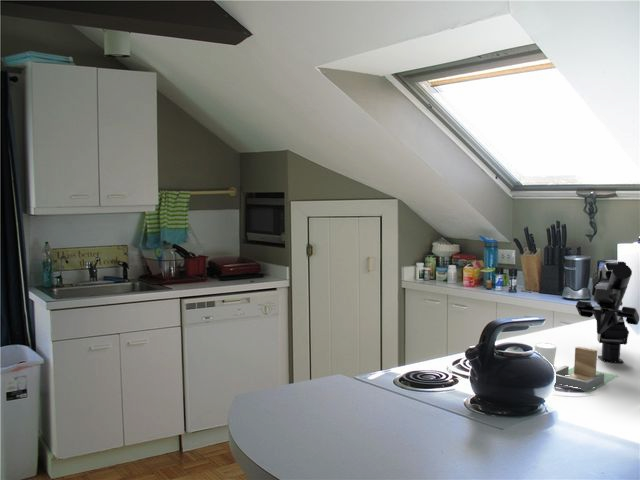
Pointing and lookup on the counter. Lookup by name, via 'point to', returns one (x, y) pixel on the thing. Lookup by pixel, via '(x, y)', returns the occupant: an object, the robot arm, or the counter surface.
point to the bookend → (584, 363)
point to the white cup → (546, 351)
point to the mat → (607, 376)
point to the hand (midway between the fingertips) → (598, 333)
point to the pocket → (577, 382)
